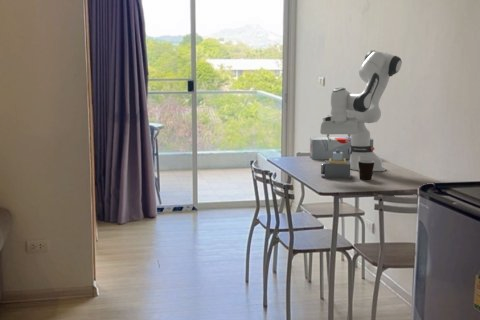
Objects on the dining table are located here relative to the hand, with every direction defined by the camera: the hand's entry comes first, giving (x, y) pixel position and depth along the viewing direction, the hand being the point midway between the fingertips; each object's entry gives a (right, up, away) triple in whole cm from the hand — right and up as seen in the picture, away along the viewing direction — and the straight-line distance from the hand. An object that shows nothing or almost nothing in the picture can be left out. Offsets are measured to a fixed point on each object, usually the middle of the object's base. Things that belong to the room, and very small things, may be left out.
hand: (338, 142), depth 325 cm
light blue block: (0, -11, +2) cm, 11 cm away
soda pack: (+12, -9, +64) cm, 66 cm away
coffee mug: (+15, -21, -4) cm, 26 cm away
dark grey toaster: (0, -19, +3) cm, 19 cm away
